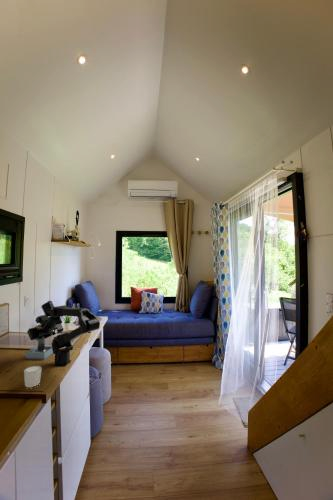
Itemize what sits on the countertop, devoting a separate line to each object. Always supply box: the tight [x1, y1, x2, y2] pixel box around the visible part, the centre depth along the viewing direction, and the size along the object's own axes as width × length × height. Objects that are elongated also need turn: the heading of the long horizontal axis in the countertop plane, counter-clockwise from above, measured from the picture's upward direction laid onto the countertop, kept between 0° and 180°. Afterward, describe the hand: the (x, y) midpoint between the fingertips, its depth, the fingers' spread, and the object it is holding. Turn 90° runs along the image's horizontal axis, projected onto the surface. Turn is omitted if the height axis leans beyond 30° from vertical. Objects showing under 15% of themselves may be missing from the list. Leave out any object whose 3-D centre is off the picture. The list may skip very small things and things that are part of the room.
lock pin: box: [35, 334, 47, 353], centre depth 142 cm, size 6×6×12 cm
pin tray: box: [25, 345, 55, 361], centre depth 142 cm, size 11×11×4 cm
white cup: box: [23, 365, 43, 387], centre depth 108 cm, size 7×7×7 cm
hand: (40, 339), depth 143 cm, fingers closed on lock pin, 3 cm apart
